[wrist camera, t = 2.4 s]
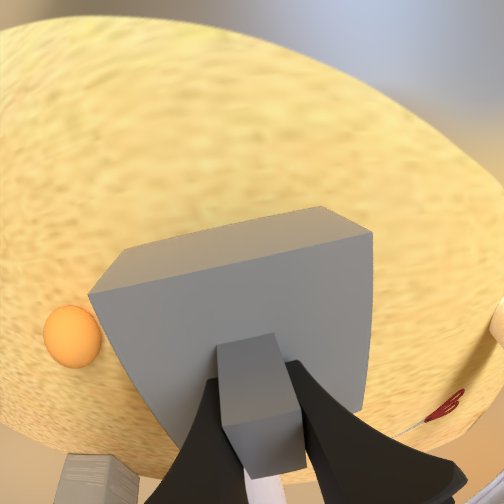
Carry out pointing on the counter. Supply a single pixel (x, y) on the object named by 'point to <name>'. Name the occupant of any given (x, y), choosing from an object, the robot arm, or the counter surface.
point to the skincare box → (96, 481)
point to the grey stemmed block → (244, 325)
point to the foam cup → (498, 323)
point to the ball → (72, 337)
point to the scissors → (441, 410)
